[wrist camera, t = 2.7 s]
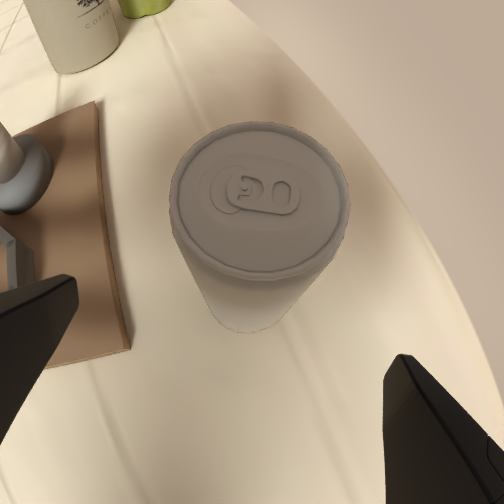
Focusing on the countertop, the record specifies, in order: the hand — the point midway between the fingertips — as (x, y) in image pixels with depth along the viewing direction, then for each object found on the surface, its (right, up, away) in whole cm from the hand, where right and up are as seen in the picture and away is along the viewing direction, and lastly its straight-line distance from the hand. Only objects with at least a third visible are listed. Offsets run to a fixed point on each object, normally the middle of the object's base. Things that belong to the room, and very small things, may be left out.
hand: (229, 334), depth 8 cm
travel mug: (-18, +24, +19) cm, 35 cm away
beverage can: (0, 0, +11) cm, 11 cm away
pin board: (-17, +3, +12) cm, 21 cm away
